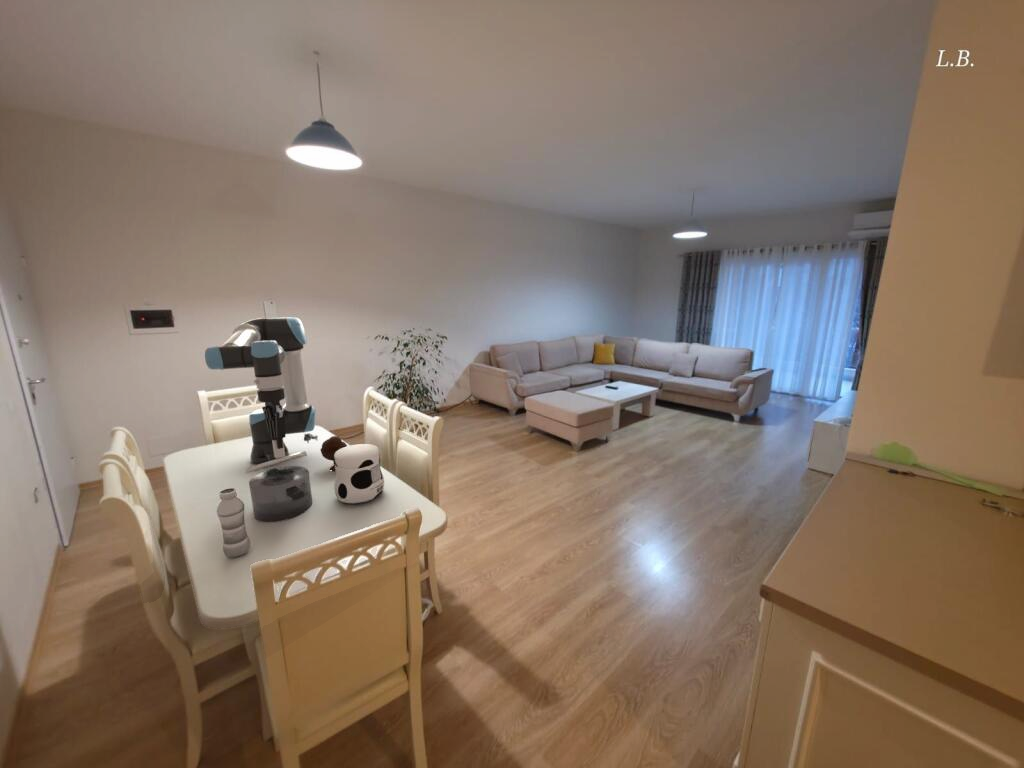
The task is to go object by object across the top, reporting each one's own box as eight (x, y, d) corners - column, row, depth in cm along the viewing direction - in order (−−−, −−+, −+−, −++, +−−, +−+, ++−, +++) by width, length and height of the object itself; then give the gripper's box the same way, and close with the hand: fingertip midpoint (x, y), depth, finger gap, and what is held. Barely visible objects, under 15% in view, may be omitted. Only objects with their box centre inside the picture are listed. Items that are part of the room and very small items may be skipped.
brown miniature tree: (354, 463, 179) (351, 431, 176) (341, 474, 169) (337, 440, 165) (331, 462, 180) (328, 431, 177) (317, 473, 170) (313, 440, 166)
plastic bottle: (232, 547, 120) (221, 486, 116) (256, 546, 121) (246, 485, 116) (219, 561, 114) (207, 497, 110) (244, 560, 115) (233, 496, 110)
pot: (246, 509, 141) (241, 478, 139) (299, 490, 155) (295, 461, 152) (272, 535, 126) (267, 500, 124) (329, 512, 140) (325, 480, 137)
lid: (238, 476, 139) (235, 465, 139) (295, 459, 153) (292, 449, 154) (253, 470, 126) (250, 458, 126) (315, 452, 140) (311, 441, 140)
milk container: (335, 490, 155) (331, 446, 151) (382, 482, 162) (379, 440, 158) (335, 512, 139) (330, 464, 135) (387, 502, 146) (384, 456, 142)
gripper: (250, 387, 132) (260, 455, 137) (265, 393, 124) (275, 465, 129) (275, 384, 138) (283, 449, 143) (291, 388, 129) (299, 458, 134)
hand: (279, 456), depth 136 cm, fingers closed
